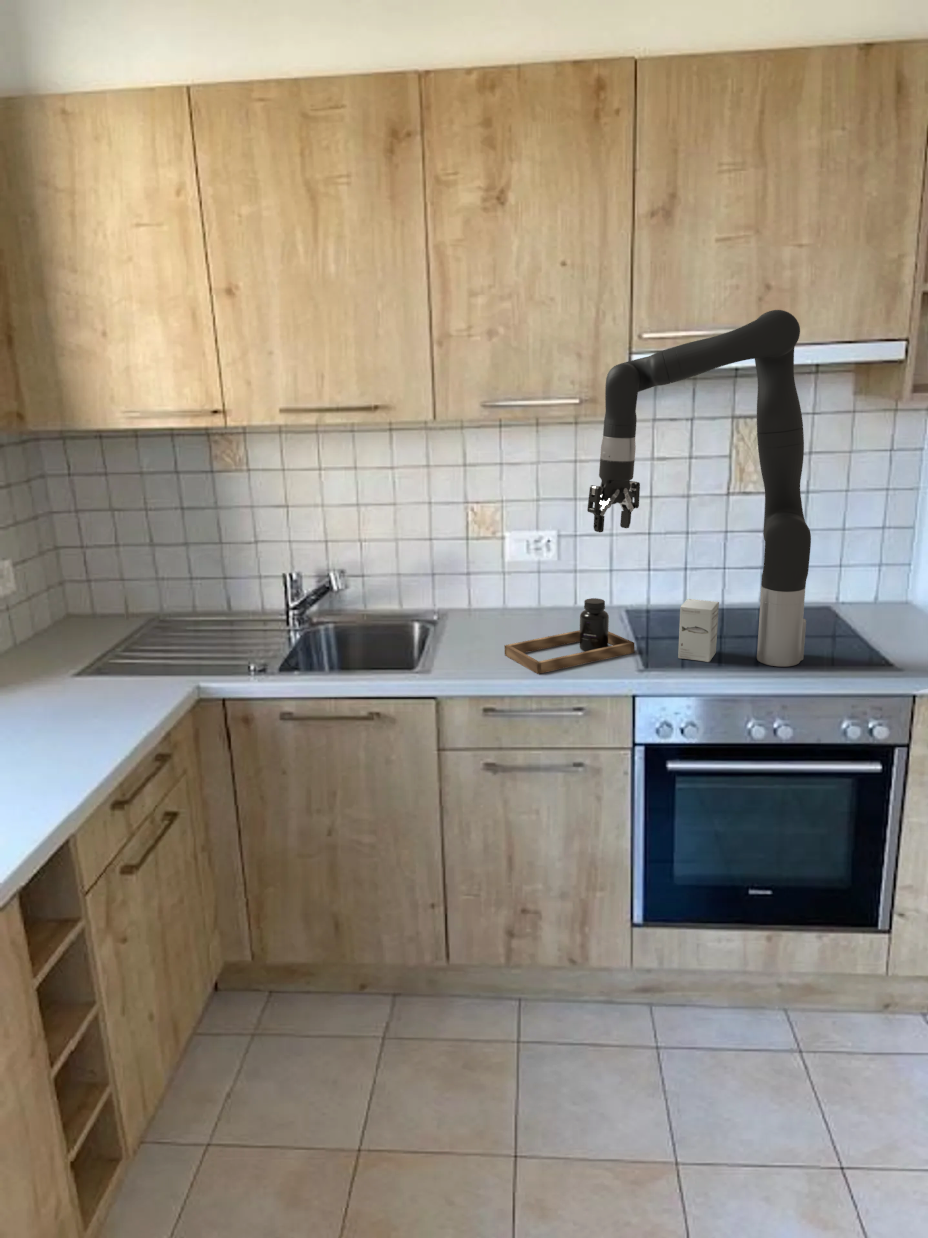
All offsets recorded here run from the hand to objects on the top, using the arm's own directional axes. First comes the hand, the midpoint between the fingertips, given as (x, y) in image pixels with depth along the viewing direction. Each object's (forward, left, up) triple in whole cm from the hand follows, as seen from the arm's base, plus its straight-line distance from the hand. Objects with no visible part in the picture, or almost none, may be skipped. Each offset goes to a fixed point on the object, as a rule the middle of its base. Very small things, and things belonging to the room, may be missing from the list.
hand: (611, 529), depth 203 cm
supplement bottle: (+1, -5, -30) cm, 30 cm away
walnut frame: (+8, -5, -30) cm, 31 cm away
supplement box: (-16, +12, -30) cm, 36 cm away
